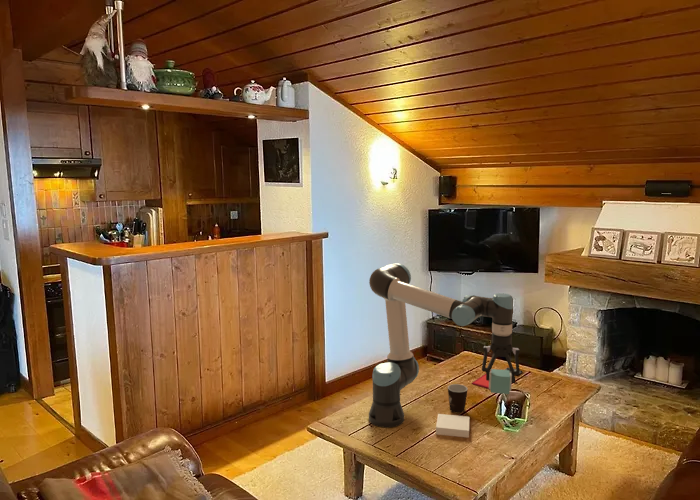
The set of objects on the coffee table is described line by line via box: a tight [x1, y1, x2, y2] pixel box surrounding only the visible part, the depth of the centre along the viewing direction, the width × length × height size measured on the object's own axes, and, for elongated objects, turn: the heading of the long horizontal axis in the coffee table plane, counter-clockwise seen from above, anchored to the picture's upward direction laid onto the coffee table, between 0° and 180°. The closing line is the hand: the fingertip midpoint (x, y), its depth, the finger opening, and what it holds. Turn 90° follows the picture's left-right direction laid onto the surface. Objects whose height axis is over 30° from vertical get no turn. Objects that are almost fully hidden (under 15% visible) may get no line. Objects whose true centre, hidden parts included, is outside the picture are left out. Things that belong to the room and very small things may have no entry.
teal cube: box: [490, 368, 511, 395], centre depth 215 cm, size 7×7×7 cm
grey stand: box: [435, 413, 470, 439], centre depth 223 cm, size 13×12×3 cm
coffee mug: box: [447, 383, 468, 414], centre depth 241 cm, size 12×9×10 cm
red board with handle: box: [471, 367, 524, 391], centre depth 273 cm, size 30×3×15 cm
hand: (499, 388), depth 216 cm, fingers closed on teal cube, 7 cm apart
